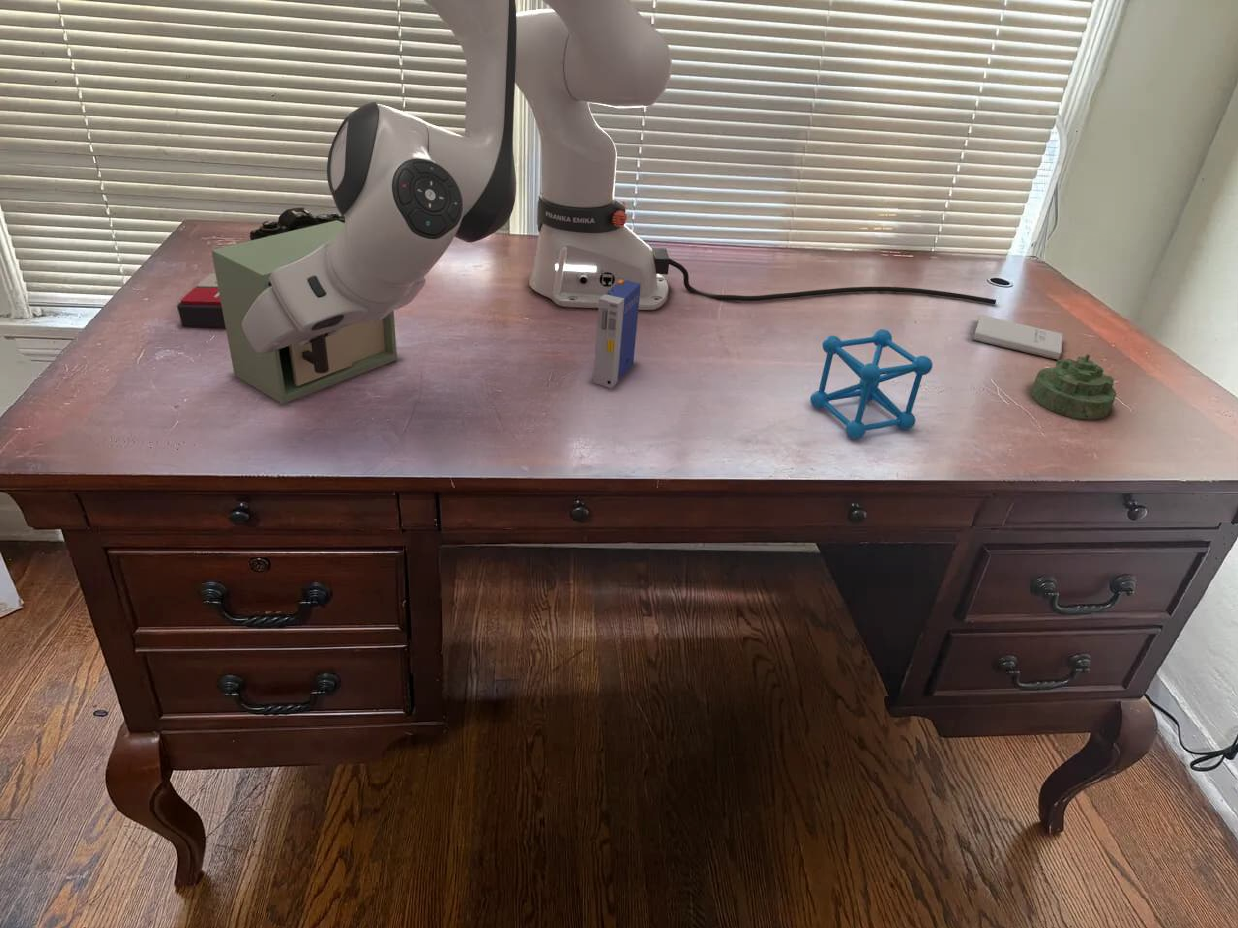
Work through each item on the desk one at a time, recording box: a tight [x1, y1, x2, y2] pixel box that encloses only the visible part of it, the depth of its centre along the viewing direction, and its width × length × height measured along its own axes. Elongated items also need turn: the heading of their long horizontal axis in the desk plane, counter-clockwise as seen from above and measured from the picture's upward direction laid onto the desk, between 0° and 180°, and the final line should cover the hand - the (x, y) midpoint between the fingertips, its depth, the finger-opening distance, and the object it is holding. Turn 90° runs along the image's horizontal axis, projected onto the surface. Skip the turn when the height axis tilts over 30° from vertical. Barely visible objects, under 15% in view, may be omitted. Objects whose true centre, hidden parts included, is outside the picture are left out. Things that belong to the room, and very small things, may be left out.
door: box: [289, 326, 352, 386], centre depth 101 cm, size 4×8×13 cm, turn 142°
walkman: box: [592, 279, 641, 389], centre depth 111 cm, size 8×3×12 cm, turn 158°
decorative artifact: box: [1030, 353, 1117, 421], centre depth 116 cm, size 10×7×10 cm
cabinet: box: [210, 220, 398, 405], centre depth 105 cm, size 10×17×16 cm, turn 142°
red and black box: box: [176, 273, 226, 328], centre depth 120 cm, size 11×4×15 cm
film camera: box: [249, 207, 345, 241], centre depth 134 cm, size 18×12×10 cm
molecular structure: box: [809, 328, 933, 440], centre depth 107 cm, size 10×10×10 cm
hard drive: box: [972, 314, 1063, 361], centre depth 134 cm, size 2×8×12 cm
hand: (314, 334), depth 99 cm, fingers closed on door, 2 cm apart
